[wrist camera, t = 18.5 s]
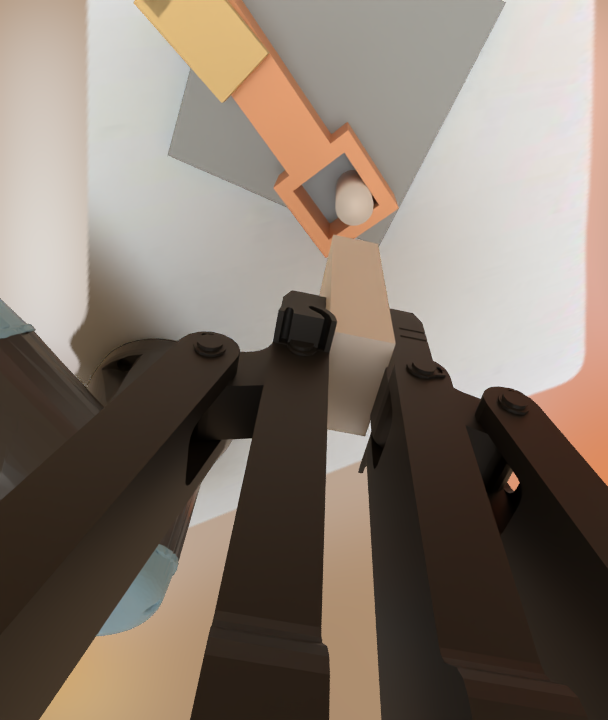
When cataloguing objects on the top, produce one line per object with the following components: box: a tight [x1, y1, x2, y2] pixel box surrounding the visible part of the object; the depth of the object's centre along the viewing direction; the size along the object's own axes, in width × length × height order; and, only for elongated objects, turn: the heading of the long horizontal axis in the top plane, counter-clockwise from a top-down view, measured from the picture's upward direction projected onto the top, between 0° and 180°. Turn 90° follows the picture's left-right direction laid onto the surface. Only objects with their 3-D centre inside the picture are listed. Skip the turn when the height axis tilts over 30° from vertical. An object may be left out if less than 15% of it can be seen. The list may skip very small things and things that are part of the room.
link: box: [228, 0, 399, 258], centre depth 37 cm, size 17×6×4 cm, turn 37°
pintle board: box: [134, 0, 506, 247], centre depth 35 cm, size 18×22×7 cm
